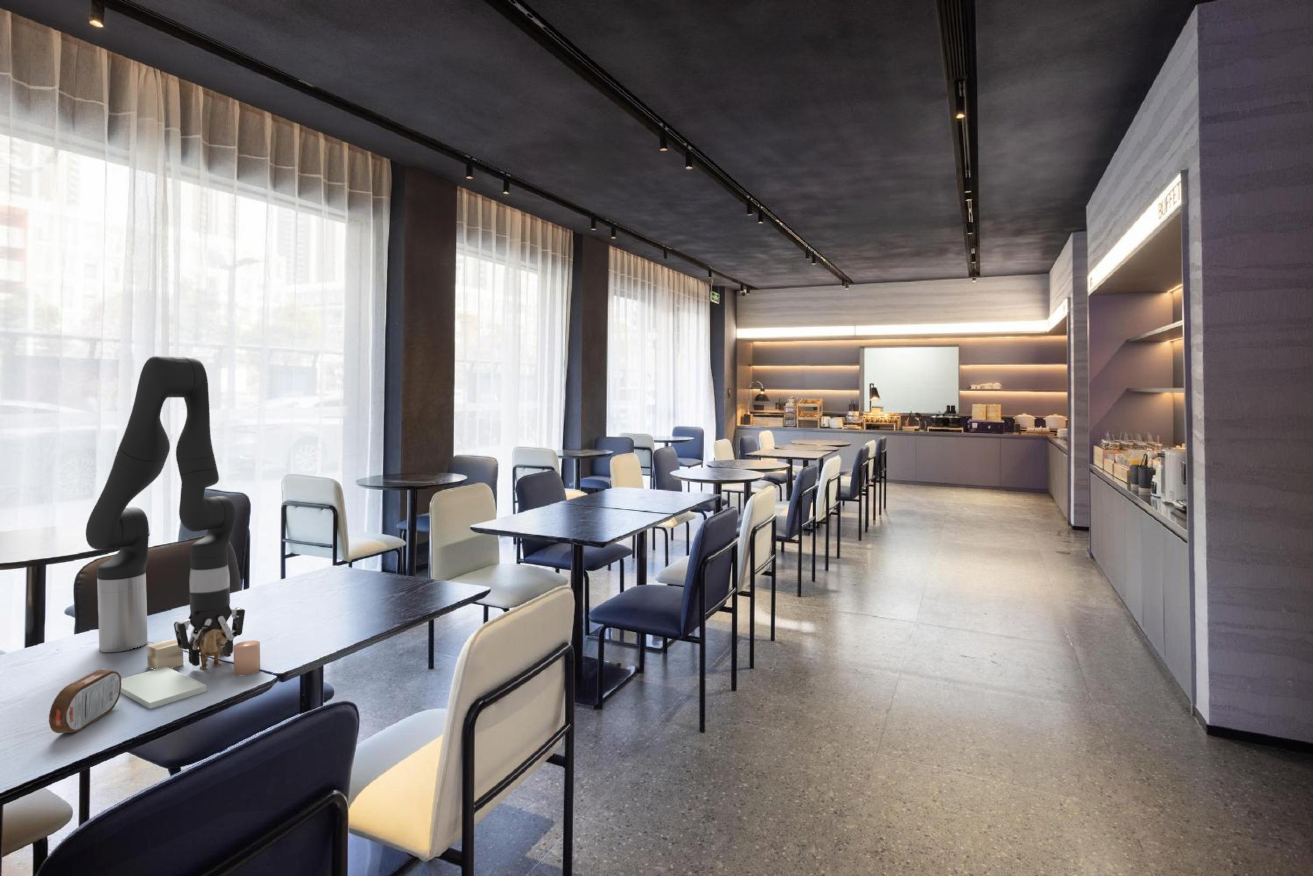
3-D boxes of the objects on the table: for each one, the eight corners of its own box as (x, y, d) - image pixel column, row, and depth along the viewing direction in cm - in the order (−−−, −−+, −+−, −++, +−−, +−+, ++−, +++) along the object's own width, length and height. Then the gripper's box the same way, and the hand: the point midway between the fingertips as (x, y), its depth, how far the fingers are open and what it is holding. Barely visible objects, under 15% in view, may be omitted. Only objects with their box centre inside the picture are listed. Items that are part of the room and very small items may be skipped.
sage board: (111, 687, 142) (110, 681, 142) (166, 671, 150) (166, 666, 150) (149, 709, 132) (149, 703, 132) (206, 691, 141) (206, 685, 141)
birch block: (147, 667, 153) (147, 645, 153) (173, 660, 157) (172, 639, 157) (157, 672, 150) (157, 649, 150) (183, 665, 155) (182, 643, 154)
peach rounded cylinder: (229, 672, 150) (228, 645, 150) (252, 665, 155) (252, 639, 154) (241, 677, 148) (240, 650, 148) (264, 670, 152) (264, 643, 152)
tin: (108, 704, 134) (107, 662, 134) (126, 704, 134) (124, 661, 134) (47, 742, 119) (45, 695, 119) (66, 742, 119) (65, 694, 119)
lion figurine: (228, 670, 152) (228, 630, 151) (199, 675, 149) (199, 634, 148) (223, 650, 164) (223, 613, 163) (196, 654, 160) (196, 616, 160)
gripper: (235, 577, 162) (236, 648, 162) (165, 591, 149) (167, 667, 150) (252, 582, 158) (253, 654, 158) (181, 596, 145) (183, 674, 146)
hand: (211, 660), depth 154 cm, fingers closed on lion figurine, 6 cm apart
